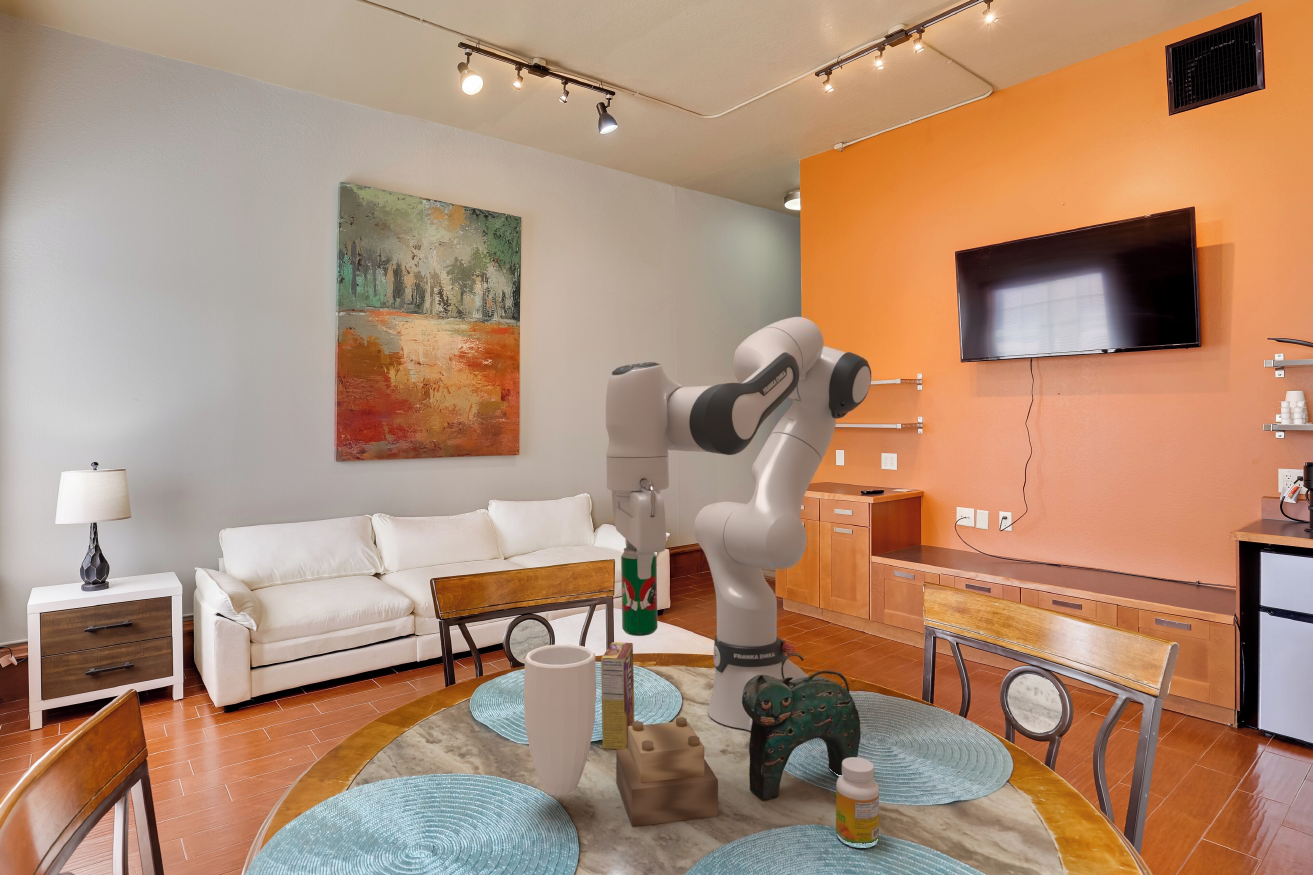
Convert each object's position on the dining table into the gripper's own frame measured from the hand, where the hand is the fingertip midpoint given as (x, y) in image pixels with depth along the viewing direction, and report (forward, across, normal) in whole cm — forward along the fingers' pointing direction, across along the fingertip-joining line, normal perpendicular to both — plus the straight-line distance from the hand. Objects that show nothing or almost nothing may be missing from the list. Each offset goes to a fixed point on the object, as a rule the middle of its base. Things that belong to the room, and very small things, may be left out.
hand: (639, 573), depth 102 cm
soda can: (+9, 0, 0) cm, 9 cm away
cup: (+32, -1, +12) cm, 34 cm away
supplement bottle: (+33, -16, -25) cm, 44 cm away
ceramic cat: (+33, -1, -24) cm, 41 cm away
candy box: (+33, +20, 0) cm, 38 cm away
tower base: (+32, -1, -3) cm, 33 cm away
